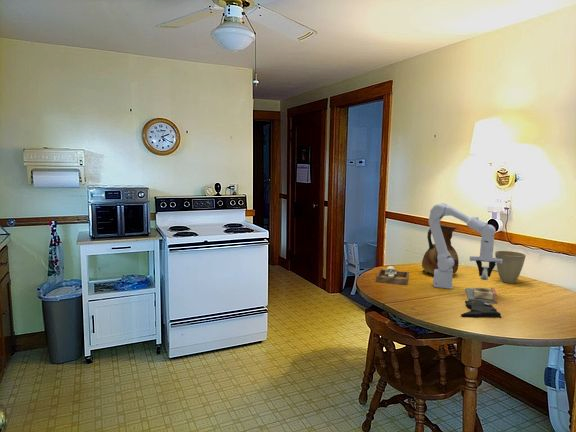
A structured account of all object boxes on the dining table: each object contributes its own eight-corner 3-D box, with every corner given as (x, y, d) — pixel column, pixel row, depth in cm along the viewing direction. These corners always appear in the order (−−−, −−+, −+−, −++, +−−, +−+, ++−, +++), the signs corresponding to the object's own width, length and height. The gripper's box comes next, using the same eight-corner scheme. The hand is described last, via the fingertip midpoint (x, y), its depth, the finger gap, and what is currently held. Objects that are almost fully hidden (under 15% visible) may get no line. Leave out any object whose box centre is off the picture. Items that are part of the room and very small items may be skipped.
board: (468, 300, 191) (469, 291, 190) (465, 289, 208) (465, 281, 207) (496, 303, 187) (497, 294, 186) (490, 292, 204) (491, 283, 203)
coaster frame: (376, 281, 219) (376, 276, 219) (379, 274, 235) (379, 269, 234) (407, 285, 214) (407, 279, 214) (408, 277, 229) (408, 272, 229)
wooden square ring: (474, 297, 191) (474, 291, 190) (472, 292, 198) (472, 287, 198) (492, 299, 188) (493, 293, 188) (490, 294, 196) (490, 288, 195)
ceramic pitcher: (463, 278, 228) (466, 226, 224) (427, 278, 228) (430, 226, 224) (449, 269, 247) (453, 221, 243) (417, 269, 248) (419, 221, 244)
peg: (481, 279, 199) (482, 268, 198) (479, 277, 202) (480, 266, 201) (488, 280, 198) (489, 268, 198) (486, 278, 202) (487, 266, 201)
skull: (403, 282, 216) (391, 267, 216) (388, 293, 219) (376, 278, 220) (403, 275, 227) (391, 261, 228) (389, 286, 230) (377, 272, 231)
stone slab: (453, 305, 191) (454, 295, 191) (491, 310, 187) (492, 299, 187) (460, 318, 170) (461, 306, 169) (503, 323, 165) (504, 312, 165)
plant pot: (528, 282, 222) (530, 254, 220) (514, 286, 214) (517, 257, 212) (501, 276, 234) (503, 249, 232) (487, 280, 226) (489, 252, 224)
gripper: (471, 249, 197) (469, 276, 199) (504, 252, 192) (502, 279, 194) (470, 246, 203) (468, 272, 205) (501, 249, 199) (499, 275, 201)
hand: (484, 275), depth 200 cm, fingers closed on peg, 3 cm apart
